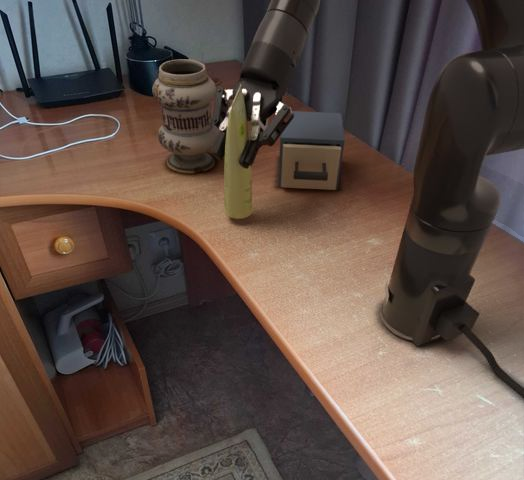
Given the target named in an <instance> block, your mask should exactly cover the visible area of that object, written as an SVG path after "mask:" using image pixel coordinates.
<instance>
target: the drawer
mask: <svg viewBox="0 0 524 480" xmlns="http://www.w3.org/2000/svg"><path fill="white" fill-rule="evenodd" d="M340 154H341V147H339V146H336V144H317V143H295V142H287V144H283V157H282V177H281V187H280V188H290V189H307V190H309V189H310V190H328V191H329V190H330V191H331V190H332V191H336V190H335V189H336V182H337V175H338V168H339V161H340Z"/></svg>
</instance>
